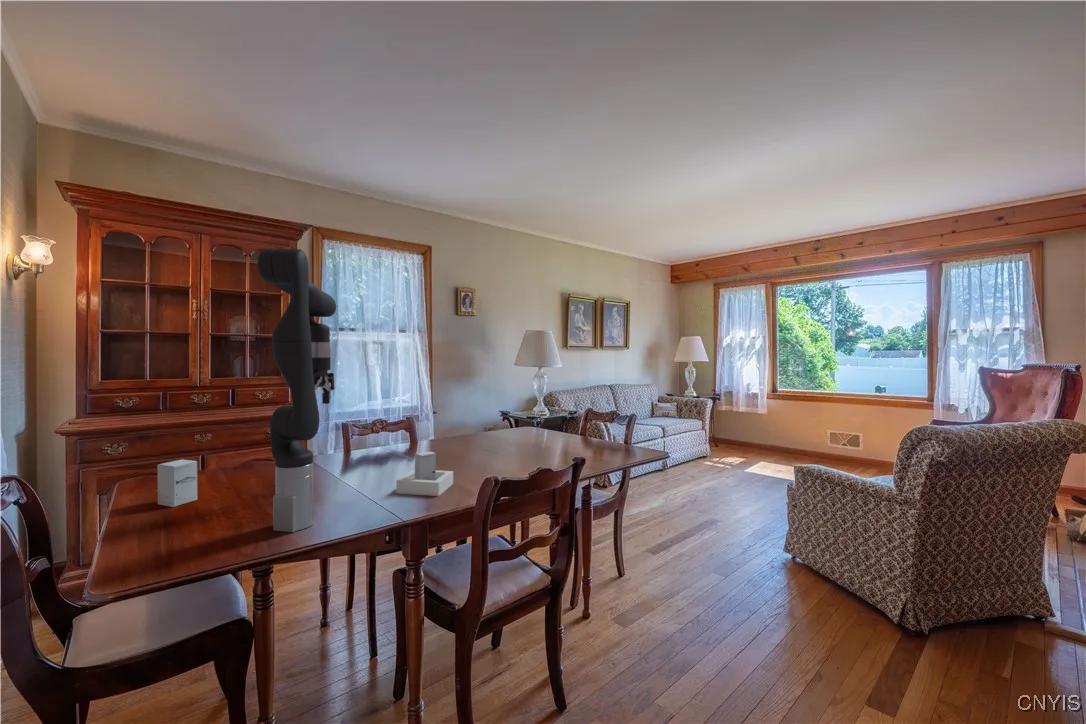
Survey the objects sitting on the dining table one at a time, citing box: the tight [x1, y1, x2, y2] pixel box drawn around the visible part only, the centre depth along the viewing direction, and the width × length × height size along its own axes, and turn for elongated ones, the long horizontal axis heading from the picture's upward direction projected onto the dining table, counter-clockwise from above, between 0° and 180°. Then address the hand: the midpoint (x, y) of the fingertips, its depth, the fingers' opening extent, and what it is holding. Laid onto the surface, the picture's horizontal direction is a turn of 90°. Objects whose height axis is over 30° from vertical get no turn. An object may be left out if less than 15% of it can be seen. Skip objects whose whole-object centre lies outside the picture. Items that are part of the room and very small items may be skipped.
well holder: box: [395, 468, 454, 497], centre depth 163 cm, size 14×15×4 cm
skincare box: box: [414, 451, 437, 481], centre depth 163 cm, size 6×4×12 cm
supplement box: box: [157, 459, 198, 508], centre depth 146 cm, size 7×7×13 cm
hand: (318, 405), depth 154 cm, fingers open, 8 cm apart
